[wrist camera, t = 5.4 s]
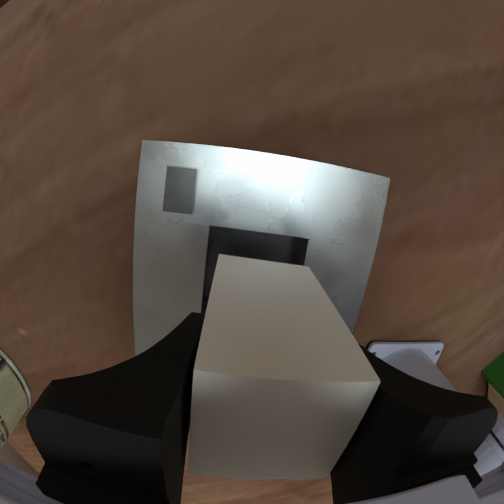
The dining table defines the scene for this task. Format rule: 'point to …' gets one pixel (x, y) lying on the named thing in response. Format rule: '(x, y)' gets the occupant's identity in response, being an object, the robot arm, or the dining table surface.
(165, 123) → the dining table surface
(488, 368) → the hardback book
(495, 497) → the robot arm
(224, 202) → the socket
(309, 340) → the plug
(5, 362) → the coffee can
